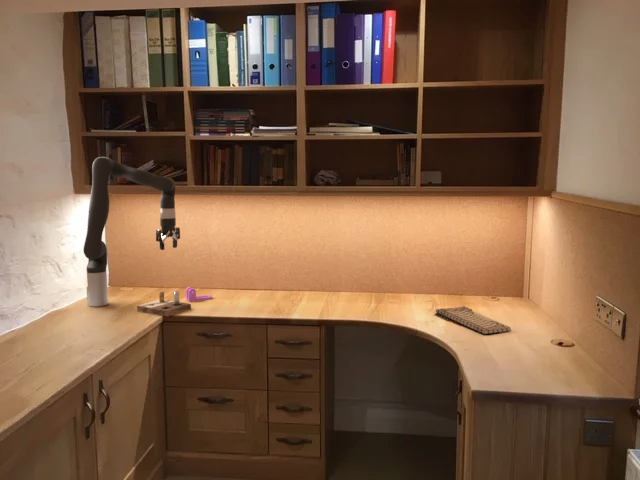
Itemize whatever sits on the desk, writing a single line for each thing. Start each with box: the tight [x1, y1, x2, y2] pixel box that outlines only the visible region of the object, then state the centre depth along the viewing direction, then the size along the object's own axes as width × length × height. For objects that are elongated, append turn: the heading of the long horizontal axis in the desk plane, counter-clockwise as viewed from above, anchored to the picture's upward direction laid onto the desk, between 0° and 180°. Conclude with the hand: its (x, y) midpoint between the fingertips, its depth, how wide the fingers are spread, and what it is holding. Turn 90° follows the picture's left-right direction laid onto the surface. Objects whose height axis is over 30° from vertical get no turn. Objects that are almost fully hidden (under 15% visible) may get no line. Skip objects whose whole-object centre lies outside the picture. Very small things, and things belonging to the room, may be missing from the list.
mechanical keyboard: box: [433, 305, 512, 336], centre depth 244 cm, size 38×19×3 cm, turn 23°
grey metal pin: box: [173, 290, 180, 306], centre depth 264 cm, size 2×2×9 cm
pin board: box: [136, 291, 192, 317], centre depth 264 cm, size 20×16×8 cm
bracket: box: [185, 286, 213, 303], centre depth 285 cm, size 13×6×7 cm, turn 119°
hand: (168, 248), depth 274 cm, fingers open, 8 cm apart
